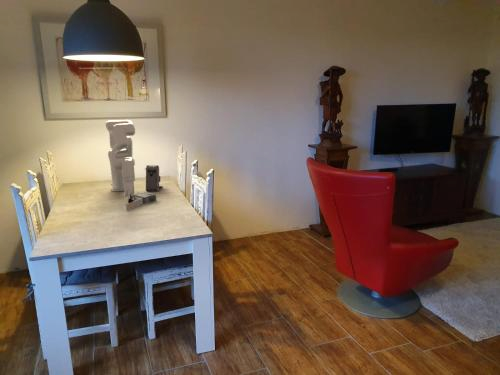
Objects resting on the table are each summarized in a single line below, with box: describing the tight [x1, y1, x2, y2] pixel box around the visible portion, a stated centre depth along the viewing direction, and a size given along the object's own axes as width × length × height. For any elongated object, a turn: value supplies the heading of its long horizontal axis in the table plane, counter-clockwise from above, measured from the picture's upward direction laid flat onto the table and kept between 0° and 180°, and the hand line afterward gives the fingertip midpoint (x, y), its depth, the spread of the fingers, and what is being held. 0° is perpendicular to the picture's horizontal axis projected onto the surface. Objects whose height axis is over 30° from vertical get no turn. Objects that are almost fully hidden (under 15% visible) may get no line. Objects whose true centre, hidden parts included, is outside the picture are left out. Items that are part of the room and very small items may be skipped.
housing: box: [133, 191, 157, 205], centre depth 259 cm, size 13×10×5 cm
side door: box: [125, 197, 145, 212], centre depth 245 cm, size 18×1×5 cm, turn 160°
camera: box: [145, 164, 163, 193], centre depth 290 cm, size 11×17×20 cm, turn 174°
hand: (131, 205), depth 245 cm, fingers closed
